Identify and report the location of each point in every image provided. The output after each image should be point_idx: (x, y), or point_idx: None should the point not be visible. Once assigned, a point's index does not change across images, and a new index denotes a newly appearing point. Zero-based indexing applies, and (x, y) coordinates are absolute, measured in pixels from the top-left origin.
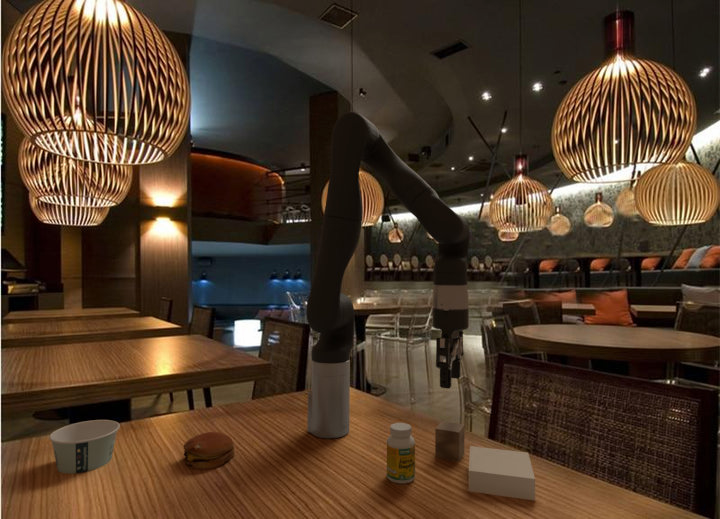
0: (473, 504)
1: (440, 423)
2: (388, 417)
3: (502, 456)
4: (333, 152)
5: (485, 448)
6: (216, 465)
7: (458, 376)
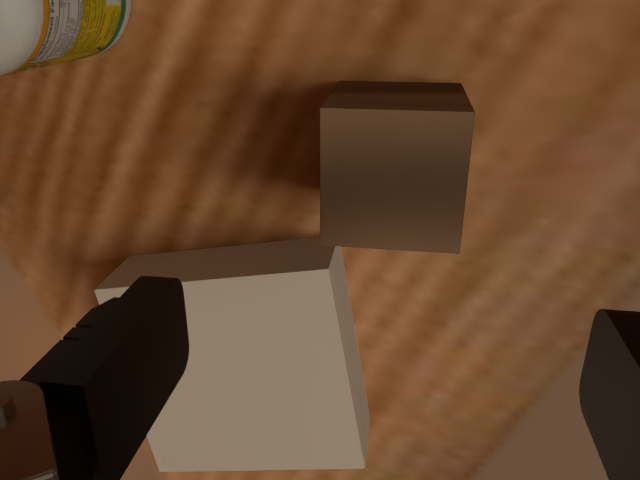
0: (62, 278)
1: (421, 116)
2: None
3: (281, 390)
4: None
5: (333, 330)
6: None
7: (583, 402)
